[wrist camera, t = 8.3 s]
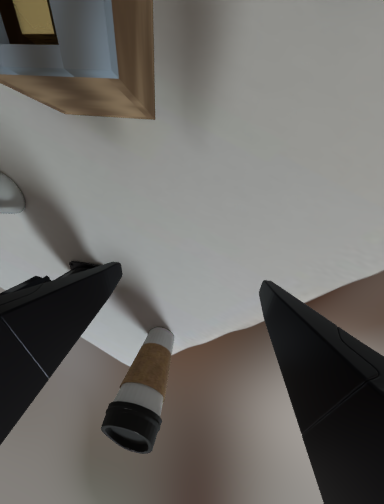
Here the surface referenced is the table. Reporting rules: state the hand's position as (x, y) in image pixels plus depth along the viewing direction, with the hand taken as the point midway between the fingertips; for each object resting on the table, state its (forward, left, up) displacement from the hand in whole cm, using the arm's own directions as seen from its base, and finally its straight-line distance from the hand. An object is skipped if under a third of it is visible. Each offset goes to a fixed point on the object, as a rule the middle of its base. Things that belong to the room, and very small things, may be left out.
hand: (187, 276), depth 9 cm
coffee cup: (-6, -27, -13) cm, 30 cm away
